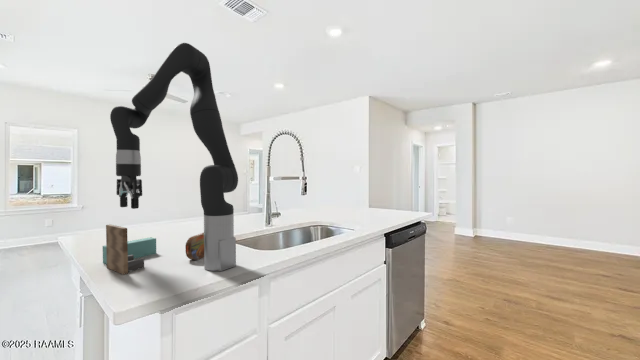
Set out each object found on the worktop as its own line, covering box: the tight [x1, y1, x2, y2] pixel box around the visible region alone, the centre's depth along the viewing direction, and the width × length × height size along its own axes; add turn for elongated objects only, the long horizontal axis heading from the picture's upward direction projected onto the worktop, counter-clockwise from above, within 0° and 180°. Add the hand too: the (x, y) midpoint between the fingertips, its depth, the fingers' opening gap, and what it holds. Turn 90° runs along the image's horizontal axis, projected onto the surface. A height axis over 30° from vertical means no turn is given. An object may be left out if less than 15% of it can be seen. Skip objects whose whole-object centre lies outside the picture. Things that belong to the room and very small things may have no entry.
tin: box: [185, 232, 204, 261], centre depth 106 cm, size 15×3×8 cm, turn 168°
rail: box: [102, 237, 157, 265], centre depth 104 cm, size 4×16×6 cm, turn 147°
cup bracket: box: [105, 223, 145, 276], centre depth 92 cm, size 12×7×14 cm, turn 57°
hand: (129, 207), depth 104 cm, fingers open, 8 cm apart
